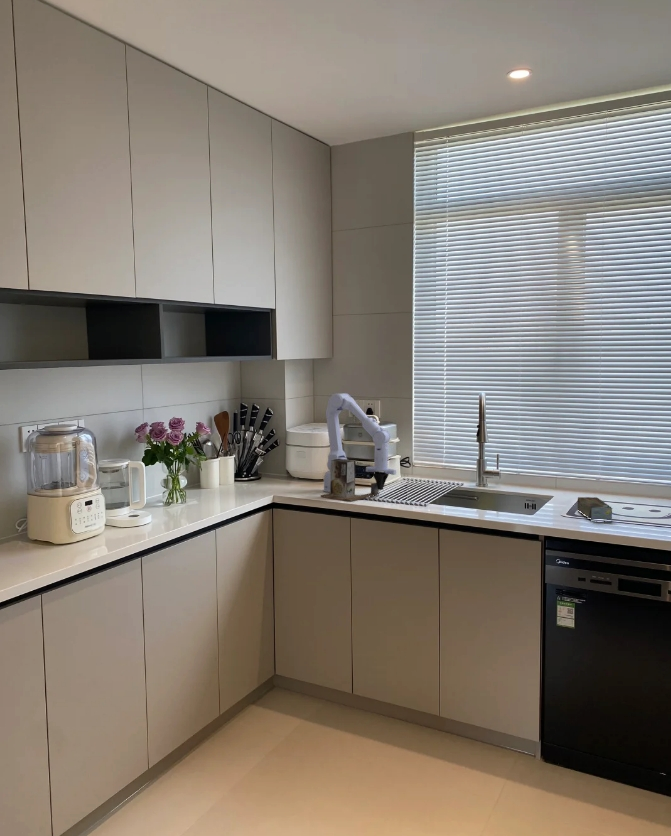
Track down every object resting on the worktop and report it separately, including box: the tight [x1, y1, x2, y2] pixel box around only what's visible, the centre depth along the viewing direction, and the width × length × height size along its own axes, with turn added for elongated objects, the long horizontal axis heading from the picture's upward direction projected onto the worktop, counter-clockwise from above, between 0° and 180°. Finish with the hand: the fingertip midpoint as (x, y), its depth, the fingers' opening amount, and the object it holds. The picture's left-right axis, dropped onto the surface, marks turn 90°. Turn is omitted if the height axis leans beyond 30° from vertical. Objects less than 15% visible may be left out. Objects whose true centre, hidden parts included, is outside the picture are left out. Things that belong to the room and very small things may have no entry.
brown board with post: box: [320, 482, 380, 502], centre depth 304 cm, size 16×21×5 cm
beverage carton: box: [577, 496, 613, 520], centre depth 267 cm, size 8×19×7 cm, turn 176°
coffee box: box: [329, 458, 356, 498], centre depth 300 cm, size 9×6×16 cm
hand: (380, 489), depth 304 cm, fingers closed
